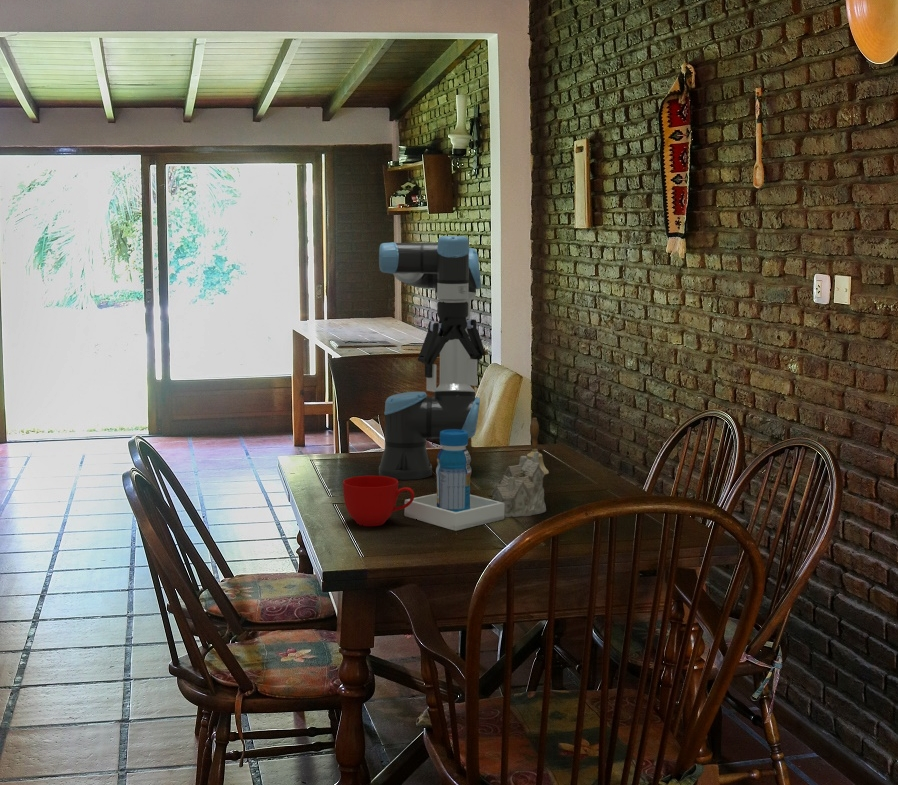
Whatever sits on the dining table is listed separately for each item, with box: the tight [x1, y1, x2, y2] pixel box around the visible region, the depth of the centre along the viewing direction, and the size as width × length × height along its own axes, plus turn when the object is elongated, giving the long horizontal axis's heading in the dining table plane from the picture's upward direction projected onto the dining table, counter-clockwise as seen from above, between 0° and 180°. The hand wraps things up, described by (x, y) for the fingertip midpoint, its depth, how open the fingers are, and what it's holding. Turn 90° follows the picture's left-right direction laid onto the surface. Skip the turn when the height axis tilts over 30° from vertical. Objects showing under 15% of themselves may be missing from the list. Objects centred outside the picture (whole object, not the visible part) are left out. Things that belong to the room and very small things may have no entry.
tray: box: [404, 492, 505, 531], centre depth 265 cm, size 18×16×4 cm
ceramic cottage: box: [490, 451, 547, 518], centre depth 274 cm, size 16×16×15 cm
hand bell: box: [526, 417, 550, 476], centre depth 317 cm, size 8×8×16 cm
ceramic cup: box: [342, 475, 415, 527], centre depth 259 cm, size 13×17×10 cm
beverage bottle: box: [435, 429, 472, 512], centre depth 264 cm, size 8×8×20 cm
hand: (452, 388), depth 269 cm, fingers open, 13 cm apart
